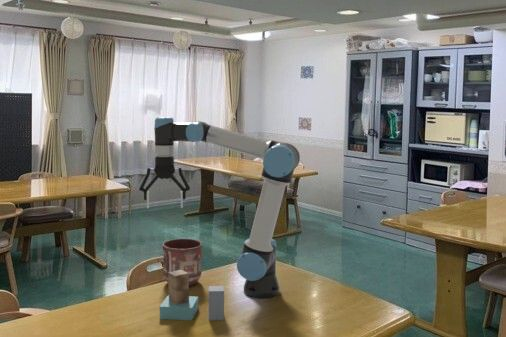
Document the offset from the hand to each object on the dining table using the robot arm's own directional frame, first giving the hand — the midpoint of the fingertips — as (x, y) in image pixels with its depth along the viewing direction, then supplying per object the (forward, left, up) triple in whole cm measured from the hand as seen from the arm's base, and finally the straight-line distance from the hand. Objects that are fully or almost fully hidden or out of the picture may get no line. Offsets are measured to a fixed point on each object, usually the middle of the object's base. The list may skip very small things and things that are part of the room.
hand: (165, 207), depth 217 cm
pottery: (-7, -13, -37) cm, 40 cm away
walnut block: (-6, +21, -32) cm, 39 cm away
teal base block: (-6, +21, -37) cm, 43 cm away
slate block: (-20, +26, -36) cm, 49 cm away
